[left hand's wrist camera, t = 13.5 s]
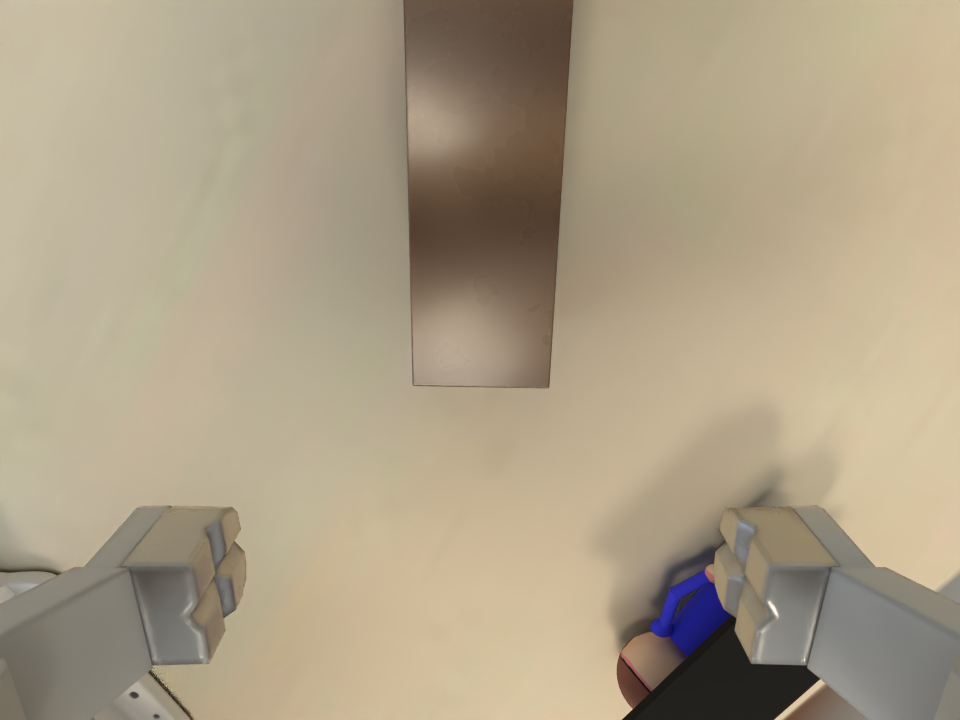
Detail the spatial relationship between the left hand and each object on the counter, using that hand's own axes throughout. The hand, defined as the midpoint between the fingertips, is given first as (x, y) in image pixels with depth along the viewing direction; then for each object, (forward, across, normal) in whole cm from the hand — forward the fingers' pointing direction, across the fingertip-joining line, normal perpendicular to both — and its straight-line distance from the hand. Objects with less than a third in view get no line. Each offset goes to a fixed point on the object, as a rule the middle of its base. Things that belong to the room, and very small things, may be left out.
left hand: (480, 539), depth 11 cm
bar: (+22, 0, -8) cm, 24 cm away
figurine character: (+23, -14, +21) cm, 34 cm away
